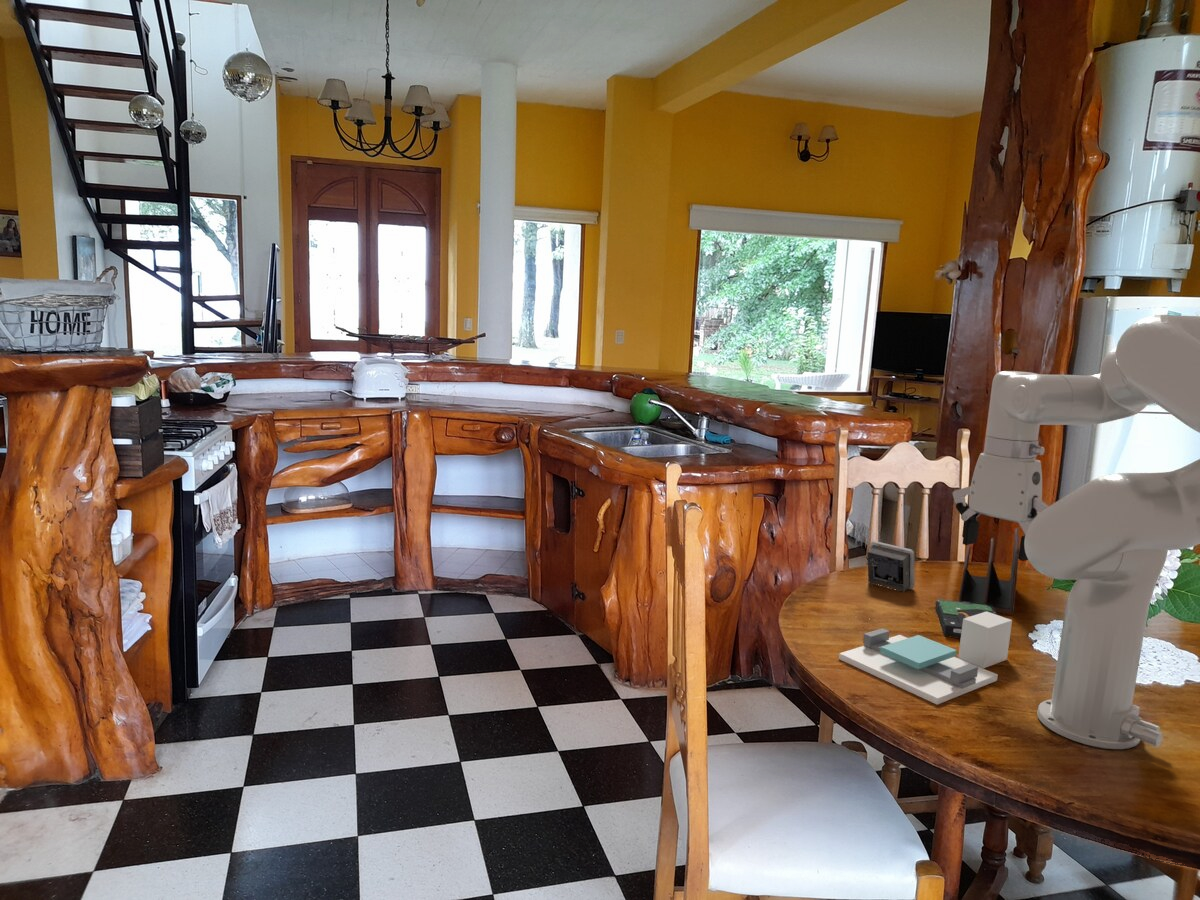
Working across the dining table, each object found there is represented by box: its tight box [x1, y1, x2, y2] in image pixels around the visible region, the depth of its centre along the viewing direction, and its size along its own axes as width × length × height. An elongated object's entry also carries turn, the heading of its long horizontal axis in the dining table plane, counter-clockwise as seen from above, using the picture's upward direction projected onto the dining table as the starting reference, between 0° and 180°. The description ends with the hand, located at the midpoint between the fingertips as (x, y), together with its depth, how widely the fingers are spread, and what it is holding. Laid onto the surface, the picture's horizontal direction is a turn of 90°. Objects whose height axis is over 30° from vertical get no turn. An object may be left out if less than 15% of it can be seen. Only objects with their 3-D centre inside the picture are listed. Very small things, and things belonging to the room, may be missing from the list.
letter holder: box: [957, 527, 1020, 616], centre depth 169 cm, size 10×20×14 cm, turn 154°
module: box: [957, 611, 1013, 669], centre depth 138 cm, size 5×7×7 cm
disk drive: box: [934, 598, 998, 639], centre depth 153 cm, size 10×3×15 cm
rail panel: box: [838, 627, 999, 705], centre depth 132 cm, size 18×16×3 cm
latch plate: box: [880, 634, 958, 669], centre depth 132 cm, size 7×10×1 cm
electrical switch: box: [866, 540, 916, 593], centre depth 172 cm, size 9×5×9 cm, turn 47°
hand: (996, 551), depth 135 cm, fingers open, 9 cm apart
